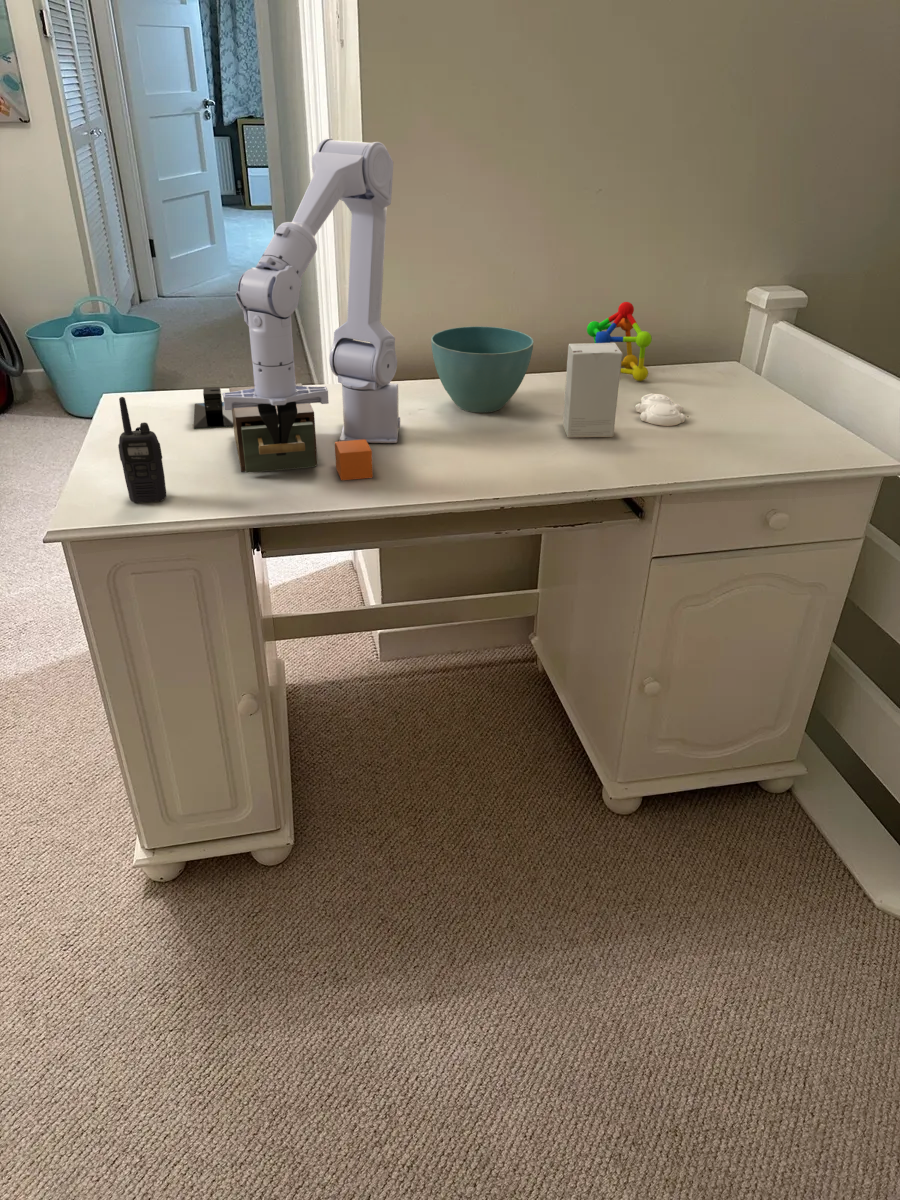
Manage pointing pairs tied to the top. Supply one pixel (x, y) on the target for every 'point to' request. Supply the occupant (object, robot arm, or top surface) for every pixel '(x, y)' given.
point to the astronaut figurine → (660, 410)
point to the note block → (353, 459)
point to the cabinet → (253, 415)
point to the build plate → (212, 411)
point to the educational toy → (624, 339)
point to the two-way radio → (141, 461)
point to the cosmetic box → (591, 389)
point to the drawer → (278, 447)
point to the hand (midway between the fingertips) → (280, 453)
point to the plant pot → (481, 365)
